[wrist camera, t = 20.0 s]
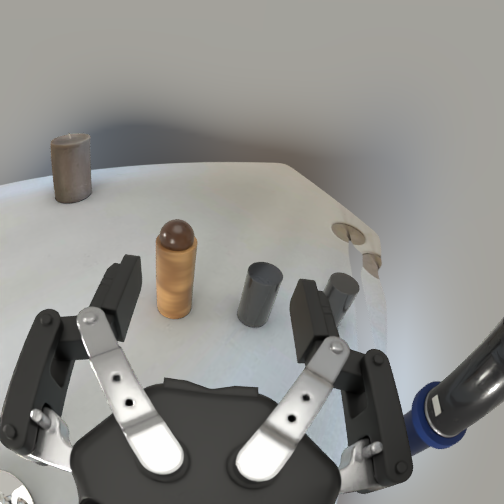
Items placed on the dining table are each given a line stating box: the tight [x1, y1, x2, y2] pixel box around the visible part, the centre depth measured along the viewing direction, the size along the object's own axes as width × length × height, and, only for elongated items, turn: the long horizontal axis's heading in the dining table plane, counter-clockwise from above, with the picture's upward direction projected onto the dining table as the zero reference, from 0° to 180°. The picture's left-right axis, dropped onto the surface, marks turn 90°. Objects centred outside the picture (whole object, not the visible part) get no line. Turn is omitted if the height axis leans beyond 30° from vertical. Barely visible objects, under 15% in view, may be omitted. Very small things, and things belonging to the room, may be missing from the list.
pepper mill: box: [156, 219, 197, 319], centre depth 34 cm, size 5×5×14 cm
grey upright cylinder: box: [237, 262, 283, 327], centre depth 37 cm, size 4×4×8 cm
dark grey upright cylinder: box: [323, 273, 359, 327], centre depth 39 cm, size 4×4×8 cm
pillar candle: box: [51, 133, 92, 203], centre depth 52 cm, size 10×10×15 cm
